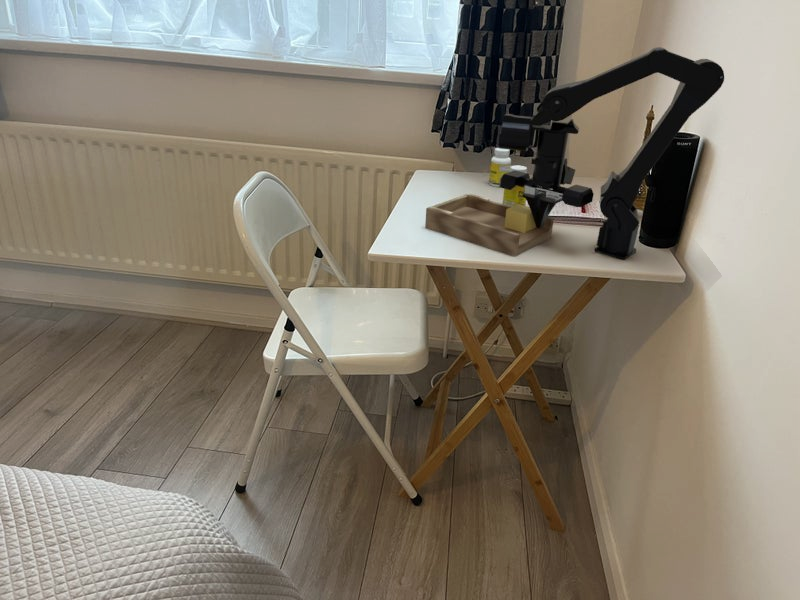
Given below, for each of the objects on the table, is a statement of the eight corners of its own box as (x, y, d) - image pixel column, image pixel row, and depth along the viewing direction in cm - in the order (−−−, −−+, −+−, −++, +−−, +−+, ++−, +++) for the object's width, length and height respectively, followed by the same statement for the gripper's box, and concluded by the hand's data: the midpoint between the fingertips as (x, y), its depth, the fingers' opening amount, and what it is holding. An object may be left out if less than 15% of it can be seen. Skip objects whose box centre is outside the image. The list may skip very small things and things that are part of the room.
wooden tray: (550, 237, 131) (554, 216, 129) (514, 256, 121) (517, 233, 119) (464, 212, 145) (466, 192, 142) (425, 227, 134) (426, 206, 132)
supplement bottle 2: (517, 213, 145) (522, 171, 141) (497, 208, 149) (502, 167, 144) (529, 208, 149) (534, 167, 144) (510, 203, 152) (514, 163, 148)
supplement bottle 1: (486, 182, 169) (489, 146, 165) (504, 181, 170) (508, 146, 165) (492, 187, 164) (495, 151, 160) (511, 187, 165) (515, 151, 161)
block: (536, 227, 131) (539, 209, 129) (524, 232, 128) (527, 214, 126) (516, 221, 134) (518, 204, 132) (504, 226, 131) (506, 209, 129)
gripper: (611, 156, 121) (597, 229, 128) (529, 140, 132) (520, 208, 139) (587, 165, 113) (573, 243, 120) (502, 147, 124) (493, 220, 131)
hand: (539, 227), depth 128 cm, fingers closed
